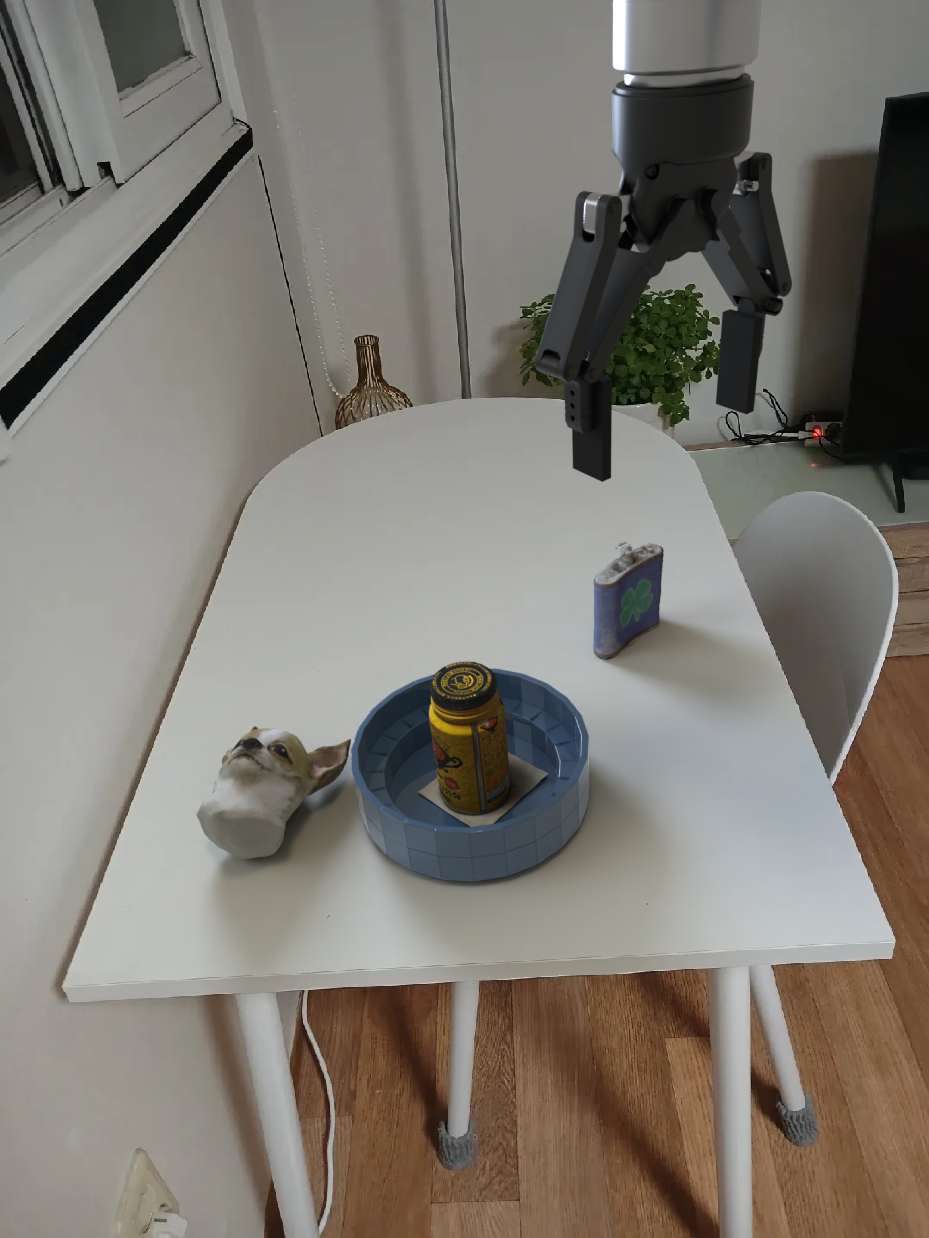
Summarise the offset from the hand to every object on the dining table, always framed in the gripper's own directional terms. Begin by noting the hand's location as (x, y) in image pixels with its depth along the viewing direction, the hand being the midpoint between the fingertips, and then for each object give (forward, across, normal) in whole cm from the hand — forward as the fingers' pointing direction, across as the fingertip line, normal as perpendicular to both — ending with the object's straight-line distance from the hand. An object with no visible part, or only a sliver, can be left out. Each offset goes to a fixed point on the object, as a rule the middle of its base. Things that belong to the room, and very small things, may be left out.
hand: (666, 439), depth 63 cm
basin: (+31, +13, -8) cm, 34 cm away
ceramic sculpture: (+31, +27, -18) cm, 45 cm away
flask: (+31, -12, -15) cm, 36 cm away
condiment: (+30, +12, -8) cm, 34 cm away
